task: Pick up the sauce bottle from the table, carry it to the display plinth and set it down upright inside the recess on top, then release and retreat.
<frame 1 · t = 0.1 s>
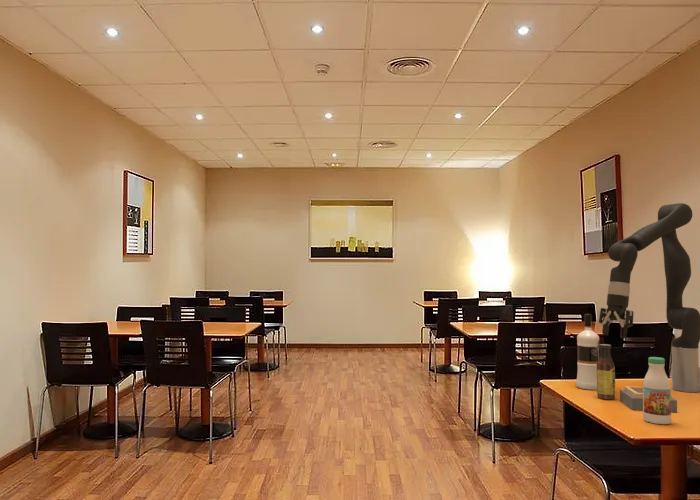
hand: (613, 336, 210), 22 cm above the table, tool pointing down, fingers open, 8 cm apart
sauce bottle: (605, 398, 204), on the table
milk bottle: (657, 422, 173), on the table
display plinth: (647, 406, 192), on the table
vodka: (588, 388, 222), on the table
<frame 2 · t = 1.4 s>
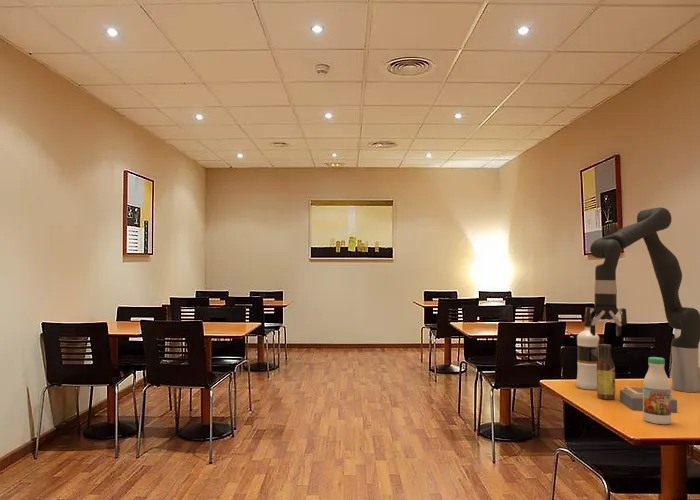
hand: (605, 335, 205), 23 cm above the table, tool pointing down, fingers open, 8 cm apart
nothing on the table moved.
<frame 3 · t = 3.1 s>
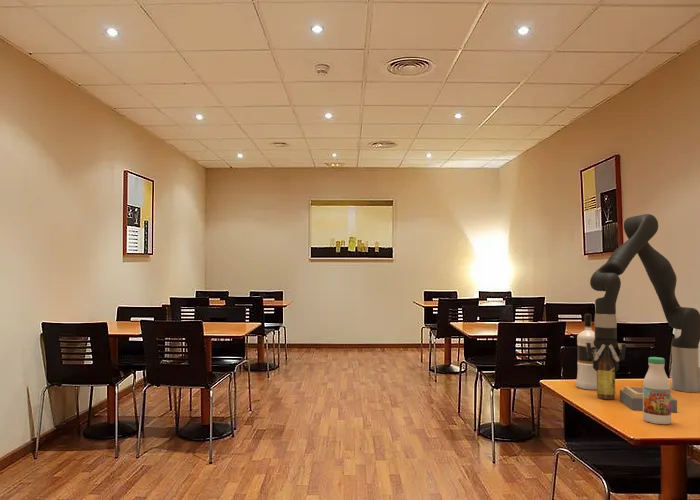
hand: (605, 370, 205), 10 cm above the table, tool pointing down, fingers closed on sauce bottle, 6 cm apart
sauce bottle: (605, 398, 204), on the table, touching gripper
everything else where it was.
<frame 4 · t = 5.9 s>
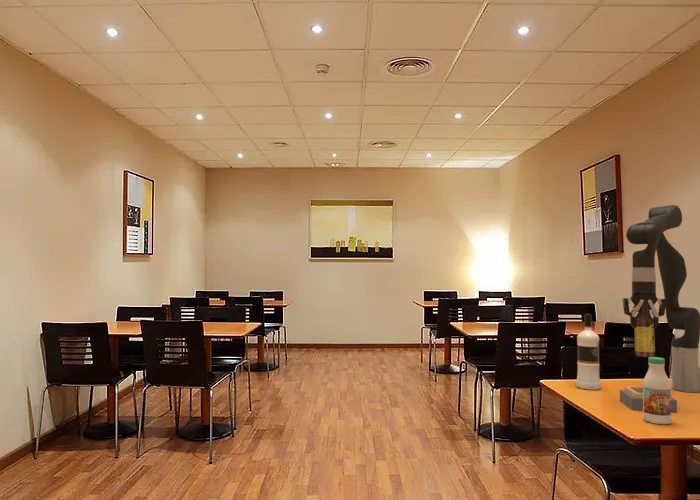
hand: (644, 327, 194), 28 cm above the table, tool pointing down, fingers closed on sauce bottle, 6 cm apart
sauce bottle: (644, 357, 194), point 17 cm above the table, touching gripper
everything else where it was.
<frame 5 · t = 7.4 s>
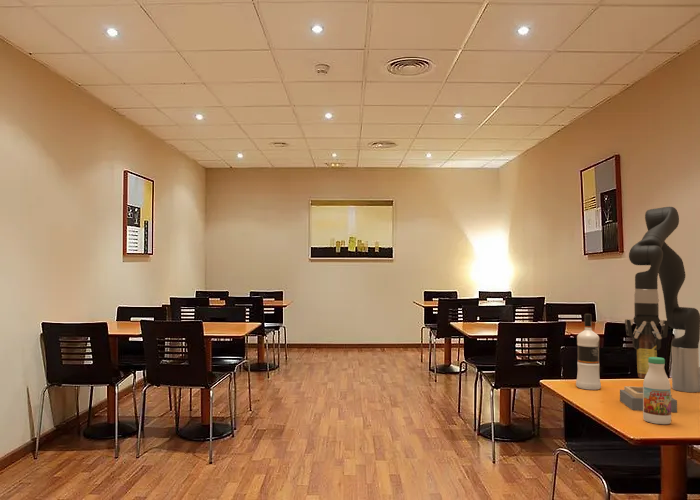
hand: (646, 349, 193), 20 cm above the table, tool pointing down, fingers closed on sauce bottle, 6 cm apart
sauce bottle: (647, 378, 193), point 10 cm above the table, touching gripper
everything else where it was.
when the fingers open (15 cm above the table, at t = 8.8 s): sauce bottle drops 1 cm, resting on display plinth.
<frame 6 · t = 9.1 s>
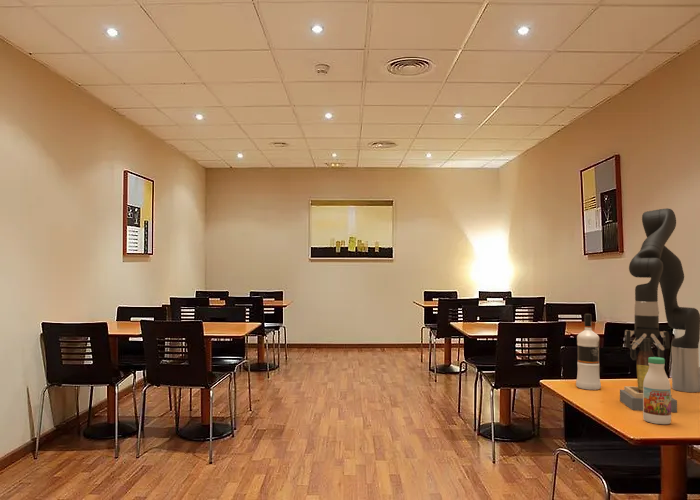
hand: (646, 360, 193), 16 cm above the table, tool pointing down, fingers open, 8 cm apart
sauce bottle: (647, 395, 193), point 4 cm above the table, touching display plinth
everything else where it was.
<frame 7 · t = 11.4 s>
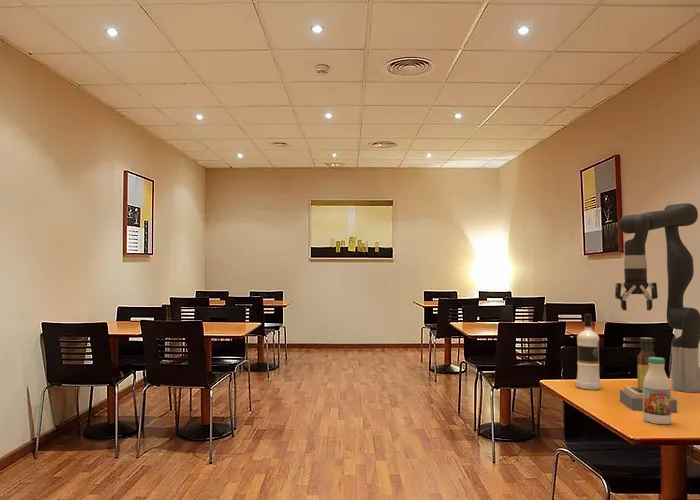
hand: (636, 310, 207), 33 cm above the table, tool pointing down, fingers open, 8 cm apart
nothing on the table moved.
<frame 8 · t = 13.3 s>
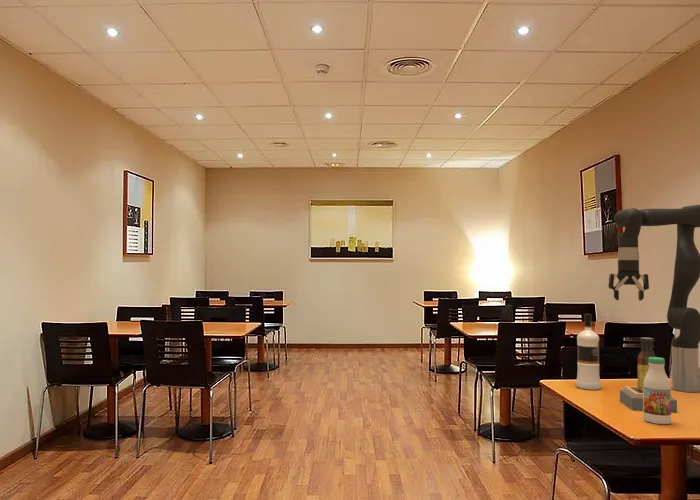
hand: (628, 300, 216), 36 cm above the table, tool pointing down, fingers open, 8 cm apart
nothing on the table moved.
at the end: sauce bottle inside the target area on the display plinth (0.2 cm from its centre), point 3.8 cm above the display plinth's base; sauce bottle tilted 0°; the gripper is holding nothing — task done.
